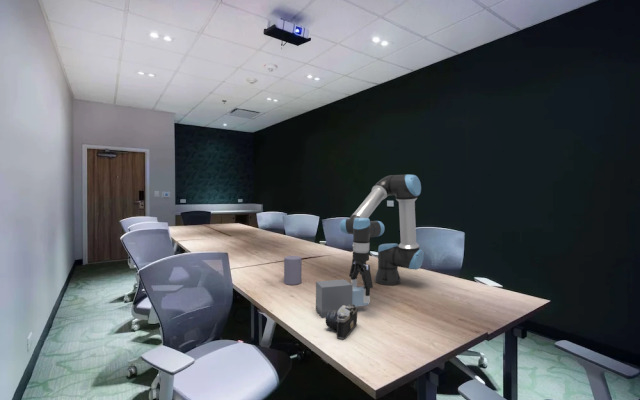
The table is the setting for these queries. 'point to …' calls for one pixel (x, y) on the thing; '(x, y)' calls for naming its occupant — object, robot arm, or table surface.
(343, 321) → the camera
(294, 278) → the container
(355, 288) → the tall blue-grey block
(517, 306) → the table surface
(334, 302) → the dispenser
